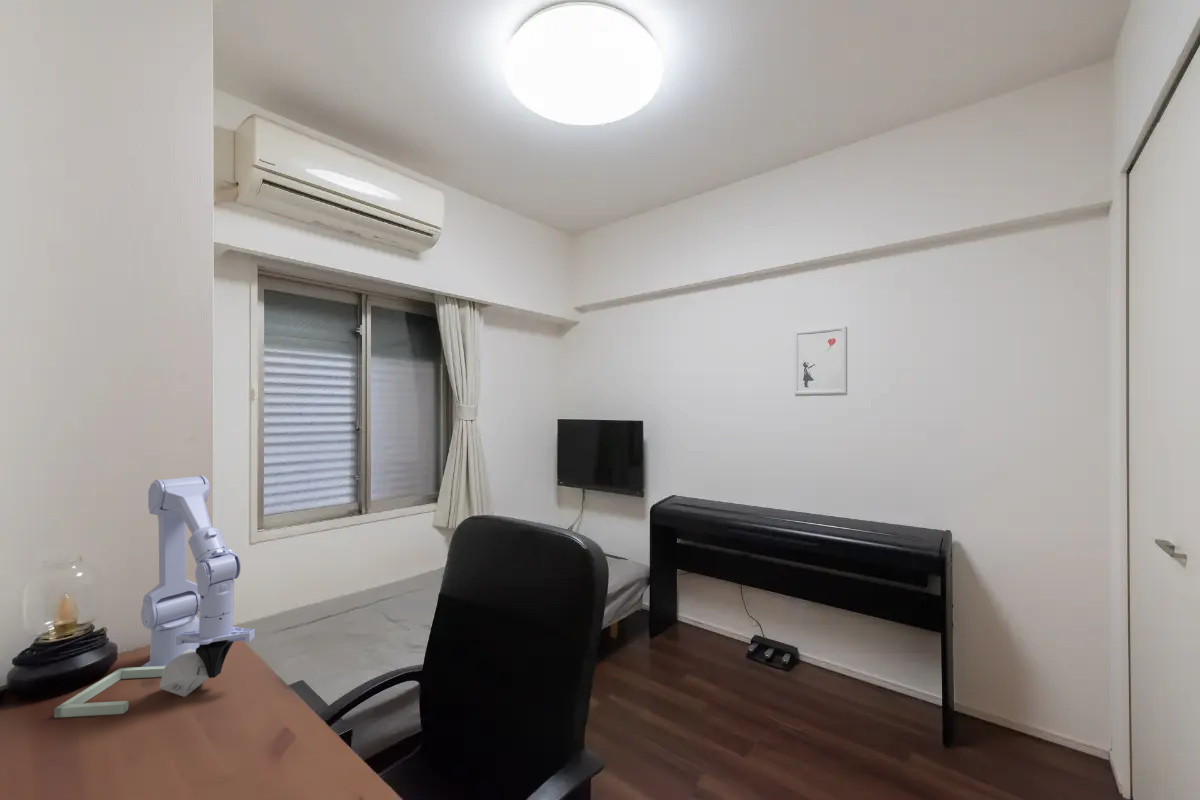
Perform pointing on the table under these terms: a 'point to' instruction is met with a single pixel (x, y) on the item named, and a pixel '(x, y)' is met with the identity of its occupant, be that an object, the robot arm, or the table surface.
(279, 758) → the table surface
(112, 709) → the bay
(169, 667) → the die
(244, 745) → the table surface
